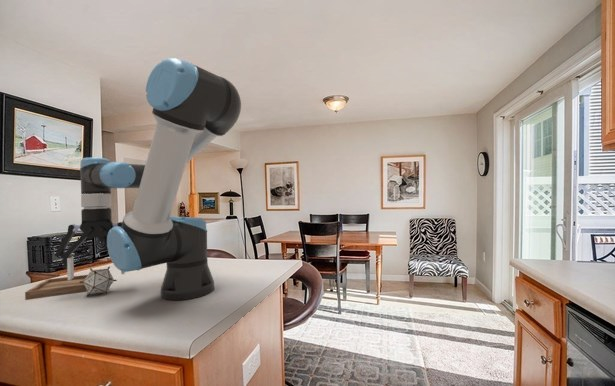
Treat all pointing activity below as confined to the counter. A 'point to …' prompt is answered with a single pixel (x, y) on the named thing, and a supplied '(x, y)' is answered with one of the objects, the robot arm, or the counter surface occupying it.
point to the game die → (98, 281)
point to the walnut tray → (57, 287)
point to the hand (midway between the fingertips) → (97, 276)
